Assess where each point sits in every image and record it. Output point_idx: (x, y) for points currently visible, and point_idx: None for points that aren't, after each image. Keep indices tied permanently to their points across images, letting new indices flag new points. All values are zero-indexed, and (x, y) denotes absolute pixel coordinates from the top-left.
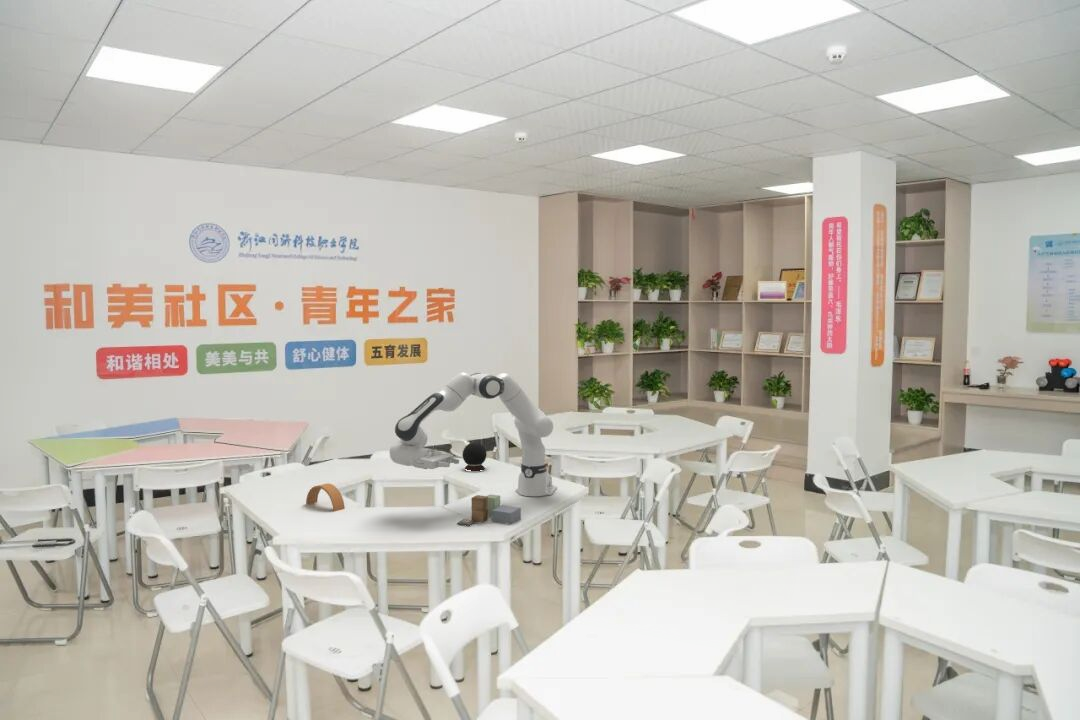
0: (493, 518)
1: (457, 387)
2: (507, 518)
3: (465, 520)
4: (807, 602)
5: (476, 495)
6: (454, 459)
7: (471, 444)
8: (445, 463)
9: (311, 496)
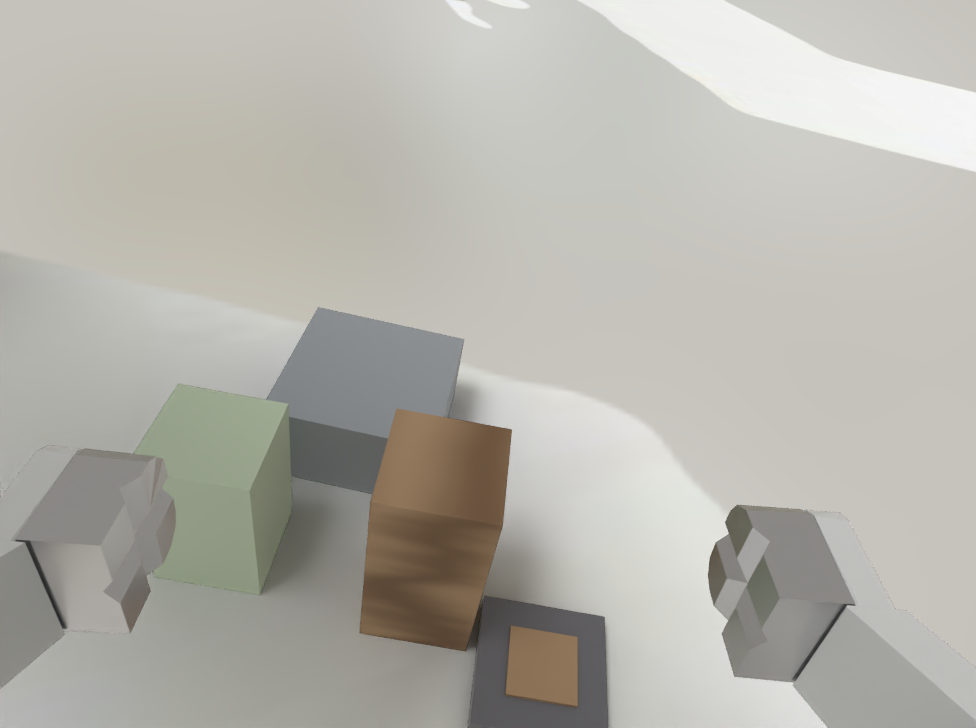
0: None
1: None
2: (454, 386)
3: (527, 680)
4: (723, 14)
5: (388, 504)
6: (83, 544)
7: None
8: (873, 586)
9: None
